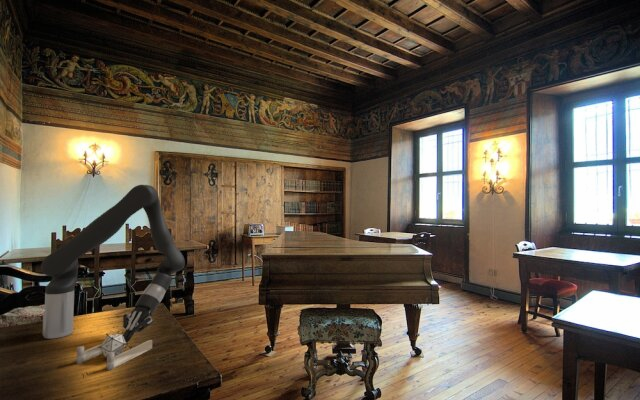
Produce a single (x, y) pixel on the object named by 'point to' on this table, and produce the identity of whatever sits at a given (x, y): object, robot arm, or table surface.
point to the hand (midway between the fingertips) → (123, 341)
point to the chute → (112, 354)
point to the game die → (113, 344)
